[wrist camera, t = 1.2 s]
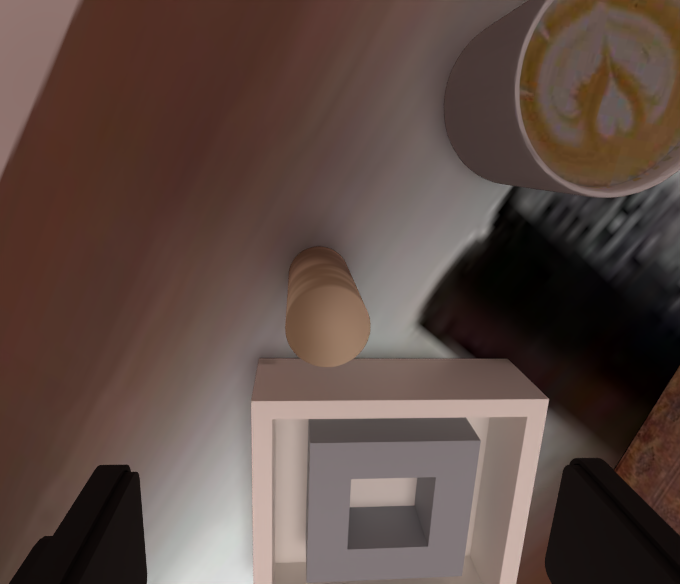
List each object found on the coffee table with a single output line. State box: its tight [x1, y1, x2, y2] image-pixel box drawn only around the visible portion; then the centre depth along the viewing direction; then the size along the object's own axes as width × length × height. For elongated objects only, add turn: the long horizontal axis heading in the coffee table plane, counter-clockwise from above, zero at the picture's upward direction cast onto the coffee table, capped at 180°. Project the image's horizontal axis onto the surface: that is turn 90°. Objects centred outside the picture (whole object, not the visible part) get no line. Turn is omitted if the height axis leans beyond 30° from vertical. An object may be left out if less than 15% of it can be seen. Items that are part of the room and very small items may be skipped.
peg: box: [285, 246, 370, 367], centre depth 27 cm, size 4×4×10 cm
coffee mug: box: [444, 0, 680, 198], centre depth 25 cm, size 13×10×10 cm
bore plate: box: [306, 417, 481, 583], centre depth 34 cm, size 11×11×4 cm
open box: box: [251, 358, 549, 584], centre depth 34 cm, size 18×18×6 cm
